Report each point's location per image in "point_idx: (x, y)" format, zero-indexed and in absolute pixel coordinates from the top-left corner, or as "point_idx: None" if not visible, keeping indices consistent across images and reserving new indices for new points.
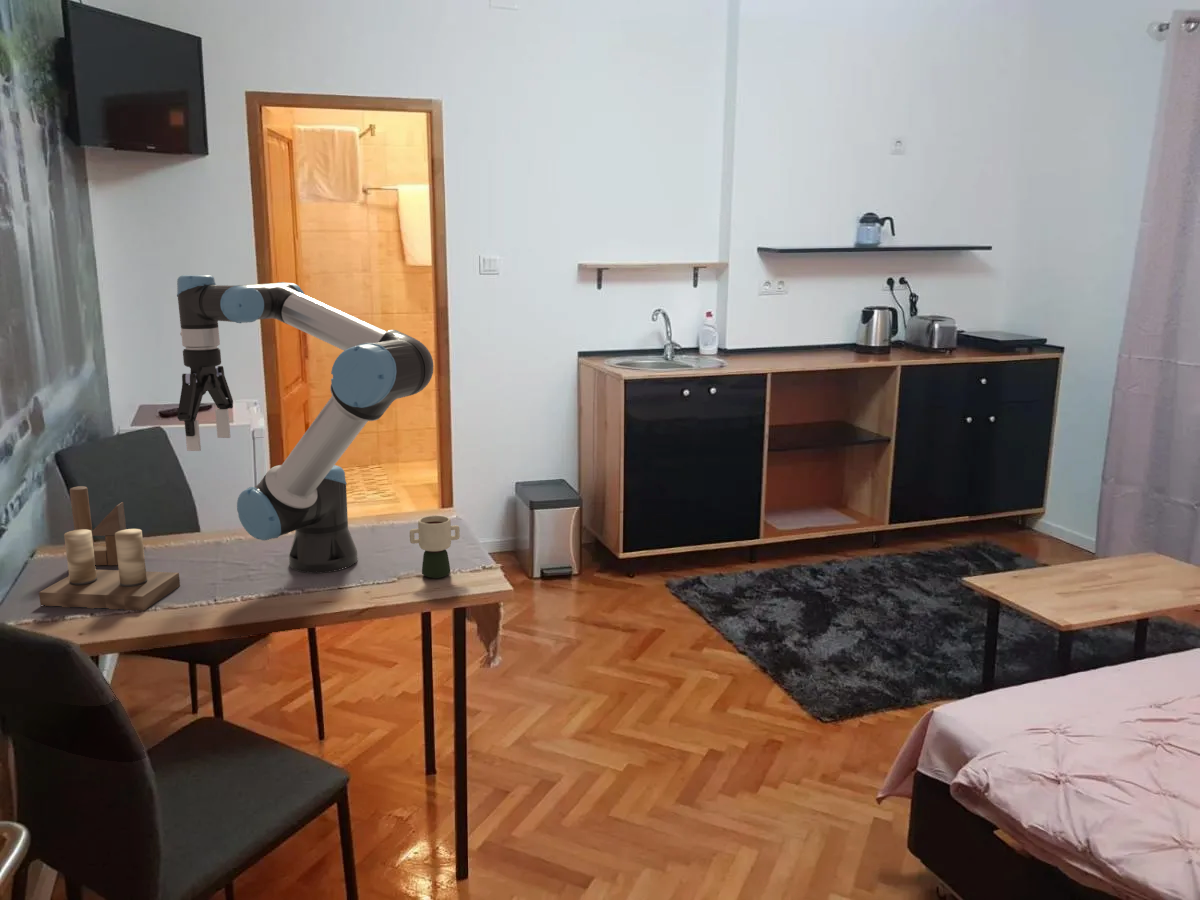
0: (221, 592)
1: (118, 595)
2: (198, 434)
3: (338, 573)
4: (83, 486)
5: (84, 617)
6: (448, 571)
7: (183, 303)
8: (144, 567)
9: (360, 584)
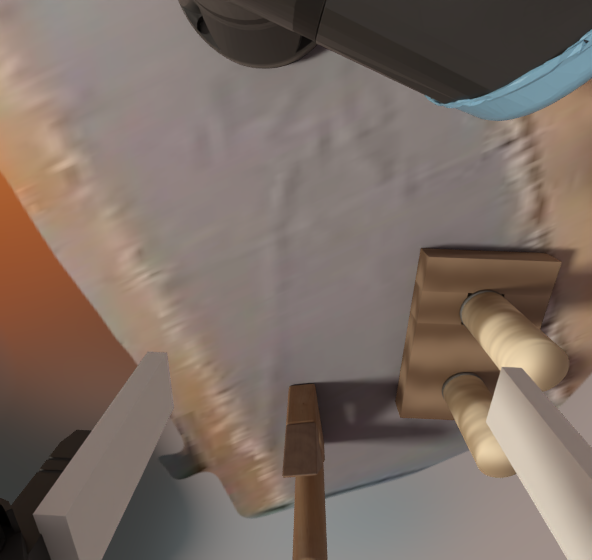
0: (463, 150)
1: (547, 305)
2: (573, 440)
3: None
4: None
5: (559, 329)
6: None
7: None
8: (498, 303)
9: None
